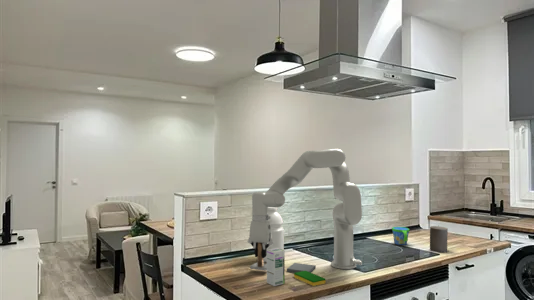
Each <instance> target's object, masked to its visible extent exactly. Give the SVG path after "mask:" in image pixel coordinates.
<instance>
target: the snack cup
mask: <svg viewBox="0 0 534 300" xmlns="http://www.w3.org/2000/svg"><path fill="white" fill-rule="evenodd" d="M391 231H392V235H393V242H394V244H396V245H398V246H406V245H408V240H409V233H410V228H408V227H405V226H393V227H391Z"/></svg>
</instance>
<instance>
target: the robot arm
mask: <svg viewBox="0 0 534 300" xmlns="http://www.w3.org/2000/svg"><path fill="white" fill-rule="evenodd" d="M345 161H346V155H345V153H344V151H343V150H342V149H339V148H330V149H329V148H328V149H324V150H323V149H322V150H307V151H305V152H303V153H302V154H301V155H300V156H299V157H298V159H297V160H296V161H295V162H294V163H293V164H292V165H291V167H290V168H289V169H288V170H287V171H286V172H285V173H284V174H282V175H281V176H280V177H279V178H278V179H277V180H276V181H275V182H274V183H273V184H272V185H271V186H270V187H269V188H268V189H267V190H266V192H264V191H255V192H253V193H252V195H251V206H252V207H251V209H252V210H251V216H252V218H251V221H250V225H249V237H248V239H247V243H249V245H251V246H252V247H253V249H254V250H253V251H254V252H253V253H254V257H255V258H257V242H258V243H262V244H263V250H262V258H265V257H266V255H267V248H268V247H269V246H270V245H272V244H273V241H272V232H271V225H270V221H268V219H271V217H270V216H268V207H274V208H277V209H278V208H281V207H283V206H284V205H285V203H286V198H285V195H284V194H285V193H286V192H287V191H288V190H290V189H291V188H293V187H296V186H298V185H300V184H302V182H303V181H304V179H305V178H307V176H308V175H309V173H310V172H311V171H312V170H313V169H326V168H328V169H329V170H330V172H331V175H332V189H333V196H334V198H335V199H336V200H339V201H342V202H340V203H337V204H336V205H334V206H333V209H332V219H333V260H332V261H331V262H330V265H331V267H333V268H336V269H340V270H353V269H355V268H357V265H358V266H362V265H363V261H362V260H360V259H356V258H355V256H354V227H353V226H356V225H358V224H359V223H360V222H361V220H362V216H363V209H362V207H363V206H362V195H361V190H360V188H359V187H358V185H356V184H354V183H352V182H351V177H350V171H349V168H348V165H347V163H346V162H345ZM268 242H269V243H268ZM267 243H268V244H267Z"/></svg>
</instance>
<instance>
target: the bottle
mask: <svg viewBox="0 0 534 300" xmlns="http://www.w3.org/2000/svg"><path fill="white" fill-rule="evenodd" d="M268 216H270V217H271V219H268V221H270V225H271V232H272V241H273V244H272V245H270V246H269V247H268V248H267V250H270V249H276V248H279V249H282V250H284V251H285V249H284V248H285V247H284V246H285V242H284V240H285V239H284V237H285V229H284V227H283V224H284V219H283V217H282V216H281V214H280V213H279V212H278V208H274V207H268ZM268 243H269V242H268ZM268 243H267V244H268ZM264 263H267V255H266V257H265V258H264Z"/></svg>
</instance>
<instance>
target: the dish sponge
mask: <svg viewBox="0 0 534 300" xmlns="http://www.w3.org/2000/svg"><path fill="white" fill-rule="evenodd" d="M293 277H294V279H297V280H299V281H301V282H303V283H305V284H308V285H309V286H313V287H315V286H316V285H317V286H320V285H323V284H326V283H327V282H326V278H325V277H324V276H320V275H318V274H315V273H313V272H311V273H310V272H308V271H301V272H297V273H293ZM317 286H316V287H317Z"/></svg>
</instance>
